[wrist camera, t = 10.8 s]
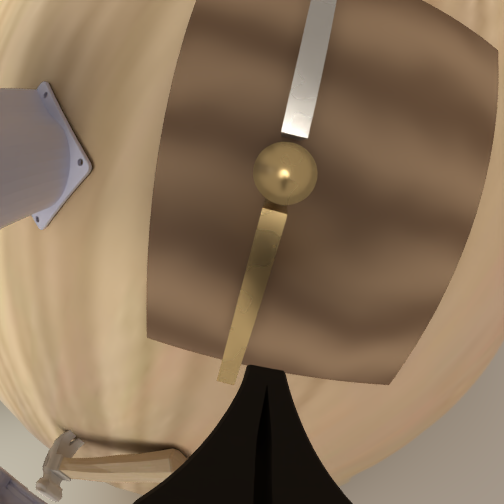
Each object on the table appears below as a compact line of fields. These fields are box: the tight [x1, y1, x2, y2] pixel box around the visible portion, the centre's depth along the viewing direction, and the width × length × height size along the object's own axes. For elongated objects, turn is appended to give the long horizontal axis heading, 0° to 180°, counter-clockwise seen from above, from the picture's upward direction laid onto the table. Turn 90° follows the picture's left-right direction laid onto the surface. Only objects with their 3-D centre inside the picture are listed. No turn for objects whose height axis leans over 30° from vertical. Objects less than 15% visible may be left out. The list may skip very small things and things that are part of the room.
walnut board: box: [147, 0, 498, 385], centre depth 14 cm, size 28×20×1 cm
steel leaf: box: [281, 0, 337, 141], centre depth 10 cm, size 13×2×4 cm, turn 169°
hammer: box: [36, 430, 187, 502], centre depth 27 cm, size 16×5×30 cm
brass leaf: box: [217, 142, 318, 385], centre depth 14 cm, size 13×2×4 cm, turn 167°
